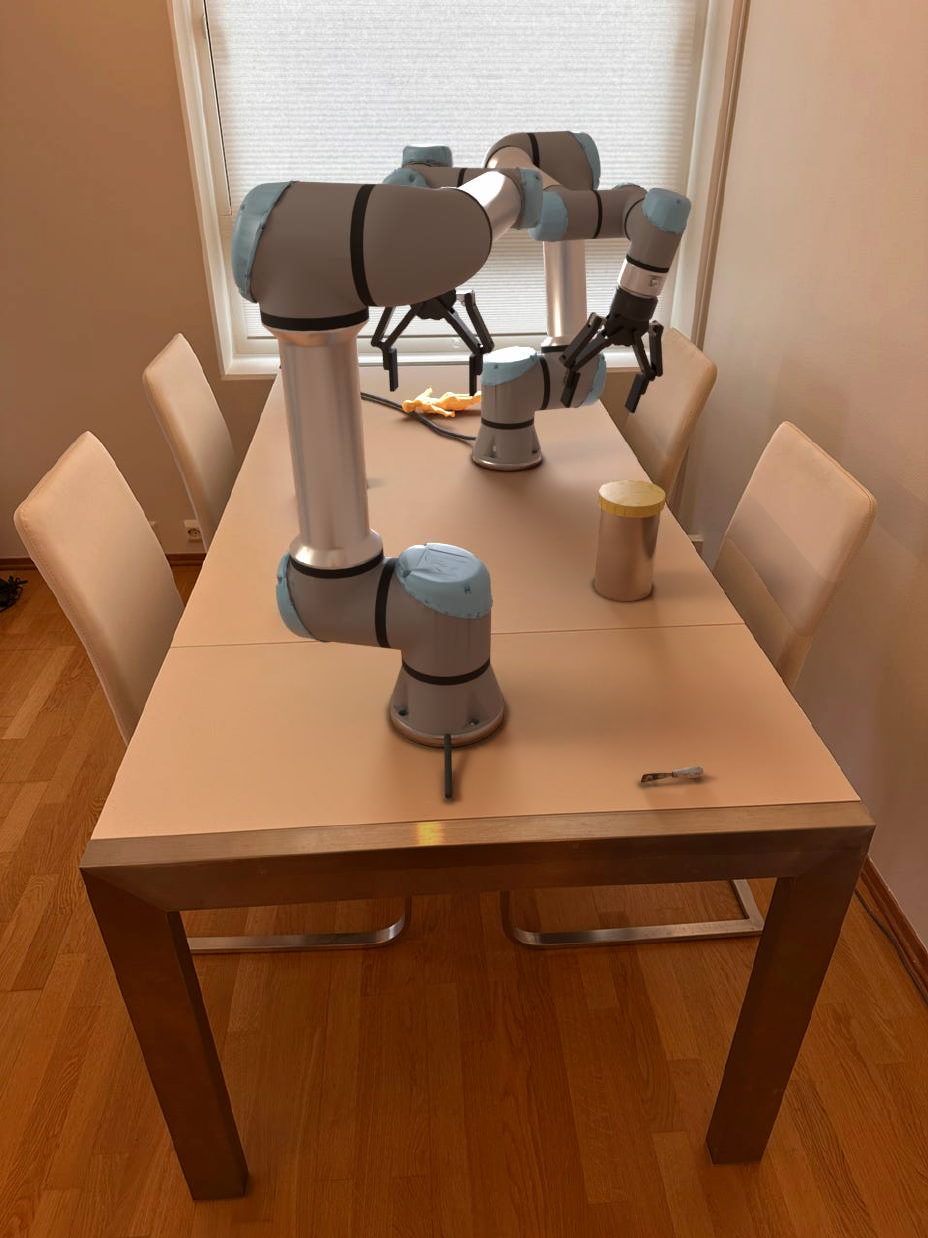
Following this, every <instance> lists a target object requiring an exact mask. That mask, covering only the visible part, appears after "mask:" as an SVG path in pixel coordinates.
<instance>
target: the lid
mask: <svg viewBox="0 0 928 1238" xmlns="http://www.w3.org/2000/svg"><path fill="white" fill-rule="evenodd" d="M598 492H599V493H598V500H597V501H598V502H597V504H598V506H599V507H600V509H601V508H602V509H603V510H605V511H607V512H609V513H611V514H614V515H617V516H621V517H629V518H643V517H650V516H653V515H656V514H658V513H660V514H661V512H662V511H664V508H665V507H666V499H667V497H666V496H667V495H666V492H665V491H664V490H663V488H662V487H660V486H658V485H657V484H655V483H652V482H649V481H644V480H639V479H638V480H637V479H618V480H613V481H609V482H607V483H606V482H605V484H603V485H601V487H600V488H599V491H598Z"/></svg>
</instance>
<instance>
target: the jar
mask: <svg viewBox="0 0 928 1238" xmlns="http://www.w3.org/2000/svg"><path fill="white" fill-rule="evenodd" d="M660 520H661V512H660V513H658V514H656V515H653V516H650V517H643V518H629V517H621V516H617V515H614V514H611V513H609V512H607V511H605V510H603V509H602V508H601V507H600V514H599V527H598V536H597V548H596V549H597V550H596V561H595V573H594V574H595V575H594V583H593V584H594V585H593V586H594V589H595V590H596V592H597V593H598V594H600V595H601V596H603V597H605V598H607V599H610V600H614V601H618V602H634V601H635V602H636V601H640V600H643V599H645V598H646V597H648V596H649V595H650V594H651V592H652V586H653V585H652V584H653V575H654V568H655V561H656V551H657V546H658V545H657V544H658V537H659V530H660V529H659V528H660Z"/></svg>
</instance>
